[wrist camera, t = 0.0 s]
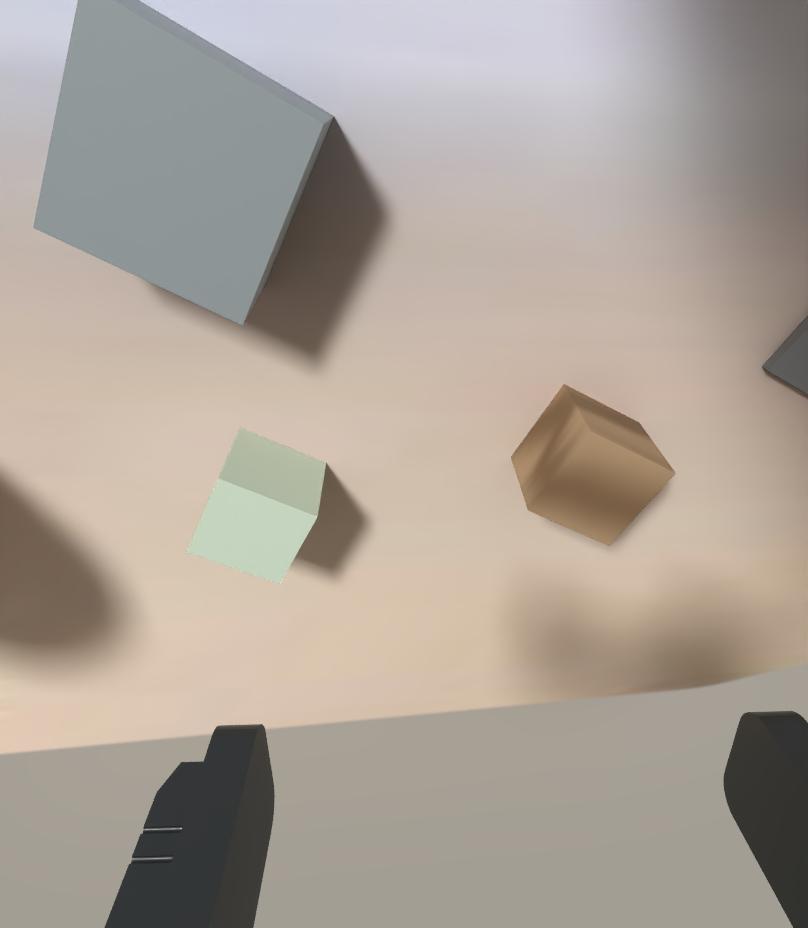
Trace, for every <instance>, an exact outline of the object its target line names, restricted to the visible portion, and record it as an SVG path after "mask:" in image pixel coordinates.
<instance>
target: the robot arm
mask: <svg viewBox="0 0 808 928" xmlns="http://www.w3.org/2000/svg"><path fill="white" fill-rule="evenodd" d="M724 791H725V796H726V799H727V803H728V806H729V809H730V811H731V814H732V815H733V818H734V819H735V821H736V823H737V825H738V827H739V829H740V830H741V832H742V834H743V836H744V838H745V840H746V841H747V843H748V845H749V847H750V849H751V851H752V852H753V854H754V856H755V858H756V860H757V862H758V864H759V865H760V867H761V869H762V871H763V873H764V874H765V876H766V878H767V880H768V882H769V884H770V885H771V887H772V889H773V891H774V893H775V895H776V897H777V898H778V900H779V902H780V904H781V906H782V908H783V910H784V911H785V913H786V915H787V917H788V918H789V921H790V922H791V924H792V926H793V928H808V723H807V721H806V720H805V719H804V718H803V717H802V716H801V715H799V714H798V713H796V712H793V711H779V712H748V713H745V714H743V716H742V717H741V719H740V722H739V725H738V728H737V732H736V735H735V739H734V742H733V745H732V749H731V752H730V756H729V759H728V762H727V766H726V769H725V773H724ZM273 814H274V784H273V777H272V770H271V764H270V758H269V751H268V745H267V738H266V732H265V728H264V726H263V725H262V724H260V725H225V726H217V727H216V729H215V730H214V732H213V735H212V738H211V741H210V744H209V747H208V750H207V753H206V756H205V759H204V762H181V763H180V765H179V766H178V767H177V768H176V769H175V771H174V772H173V773H172V774H171V776H170V777H169V778H168V779H167V780H166V782H165V783H164V784H163V785H162V787H161V788H160V789H159V790H158V791H157V794H156V796H155V798H154V801H153V804H152V806H151V809H150V811H149V814H148V817H147V819H146V822H145V824H144V830H143V834H141V835H140V837H139V840H138V842H137V845H136V848H135V850H134V853H133V855H132V862H131V864H129V866H128V868H127V871H126V874H125V876H124V879H123V881H122V884H121V887H120V889H119V892H118V894H117V897H116V900H115V902H114V905H113V907H112V910H111V912H110V915H109V918H108V920H107V923H106V925H105V928H253V926H254V921H255V916H256V910H257V905H258V899H259V894H260V889H261V883H262V878H263V872H264V867H265V862H266V856H267V851H268V845H269V840H270V835H271V829H272V822H273Z"/></svg>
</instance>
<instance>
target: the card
mask: <svg viewBox="0 0 808 928" xmlns="http://www.w3.org/2000/svg"><path fill="white" fill-rule="evenodd" d="M762 367H764V368H765V369H766V370H767V371H769V372H770V373H772V374H774V375H776V376H777V377H779V378H781V379H782V380H784V381H786V382H788V383H789V384H791V385H793V386H794V387H796V388H798V389H800V390H801V391H803V392H805V393H806V394H808V317H807V318H806V319H805V320H804V321H803V322H802V323H801V324H800V325H799V327H798V328H797V329H796V330H795V331H794V332H793V333H792V334H791V335H790V337H789V338H788V339H787V340H786V341H785V342H784V343H783V344H782V345H781V347H780V348H779V349H778V350H777V351H776V352H775V353H774V354H773V355H772V356H771V358H770V359H769V360H768V361H767V362H766V363H765V364H764V365H763V366H762Z"/></svg>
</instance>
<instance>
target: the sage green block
mask: <svg viewBox="0 0 808 928" xmlns="http://www.w3.org/2000/svg"><path fill="white" fill-rule="evenodd" d="M325 468H326V462H323V461H321V460H318V459H316V458H314V457H311V456H309V455H306V454H304V453H302V452H299V451H297V450H294V449H292V448H290V447H287V446H285V445H282V444H280V443H278V442H275V441H273V440H270V439H268V438H265V437H263V436H261V435H258V434H256V433H253V432H251V431H249V430H246V429H244V428H241V427H240V429H239V431H238V433H237V435H236V438H235V440H234V442H233V445H232V447H231V449H230V452H229V454H228V456H227V459H226V461H225V463H224V465H223V468H222V470H221V472H220V475H219V477H218V479H217V482H216V484H215V486H214V488H213V491H212V493H211V495H210V498H209V500H208V502H207V505H206V507H205V509H204V512H203V514H202V516H201V519H200V521H199V523H198V526H197V528H196V531H195V533H194V535H193V538H192V540H191V542H190V545H189V547H188V549H187V552H189V553H191V554H194V555H197V556H200V557H203V558H206V559H209V560H211V561H214V562H217V563H220V564H223V565H226V566H229V567H231V568H234V569H237V570H240V571H243V572H246V573H249V574H251V575H254V576H257V577H260V578H263V579H266V580H269V581H272V582H274V583H277V584H280V583H281V581H282V579H283V578H284V576H285V574H286V572H287V570H288V569H289V567H290V565H291V563H292V561H293V560H294V558H295V556H296V554H297V553H298V551H299V549H300V547H301V545H302V544H303V542H304V540H305V538H306V537H307V535H308V533H309V531H310V529H311V528H312V526H313V524H314V522H315V521H316V519H317V517H318V511H319V505H320V499H321V492H322V486H323V480H324V474H325Z"/></svg>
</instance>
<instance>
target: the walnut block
mask: <svg viewBox="0 0 808 928" xmlns="http://www.w3.org/2000/svg"><path fill="white" fill-rule="evenodd" d="M511 458H512V462H513V465H514V468H515V471H516V474H517V477H518V480H519V483H520V487H521V490H522V493H523V496H524V499H525V502H526V505H527V508H528V510H529V511H531V512H533V513H535V514H538V515H540V516H542V517H545V518H547V519H549V520H551V521H554V522H556V523H558V524H561V525H563V526H565V527H567V528H570V529H572V530H574V531H577V532H579V533H581V534H584V535H586V536H588V537H590V538H593V539H595V540H597V541H600V542H602V543H604V544H606V545H610V544H611V543H612V542H613V541H614V540H615V539H616V538H617V537H618V536H619V534H620V533H621V532H622V531H623V530H624V529H625V528H626V527H627V526H628V525H629V524H630V522H631V521H632V520H633V519H634V518H635V517H636V516H637V515H638V514H639V513H640V511H641V510H642V509H643V508H644V507H645V506H646V505H647V504H648V503H649V502H650V501H651V499H652V498H653V497H654V496H655V495H656V494H657V493H658V492H659V491H660V490H661V488H662V487H663V486H664V485H665V484H666V483H667V482H668V481H669V480H670V479H671V478H672V476H673V475H674V474H675V472H674V470H673V469H672V467H671V466H670V465H669V463H668V462H667V461H666V459H665V458H664V456H663V455H662V454H661V452H660V451H659V449H658V448H657V447H656V445H655V444H654V443H653V441H652V440H651V438H650V437H649V436H648V434H647V433H646V431H645V430H644V429H643V427H642V426H641V425H640V423H639V422H637V421H635V420H633V419H631V418H629V417H627V416H625V415H623V414H621V413H619V412H617V411H615V410H613V409H611V408H610V407H608V406H606V405H604V404H602V403H600V402H598V401H596V400H594V399H592V398H590V397H588V396H586V395H584V394H582V393H580V392H578V391H576V390H574V389H572V388H570V387H569V386H567V385H565V384H564V385H563V386H562V388H561V389H560V390H559V392H558V393H557V395H556V396H555V397H554V399H553V400H552V401H551V403H550V404H549V406H548V407H547V408H546V410H545V411H544V412H543V414H542V415H541V417H540V418H539V419H538V421H537V422H536V423H535V425H534V426H533V428H532V429H531V430H530V432H529V433H528V434H527V436H526V437H525V438H524V440H523V441H522V443H521V444H520V445H519V447H518V448H517V449H516V451H515V452H514V454H513V455H512V456H511Z"/></svg>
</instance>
